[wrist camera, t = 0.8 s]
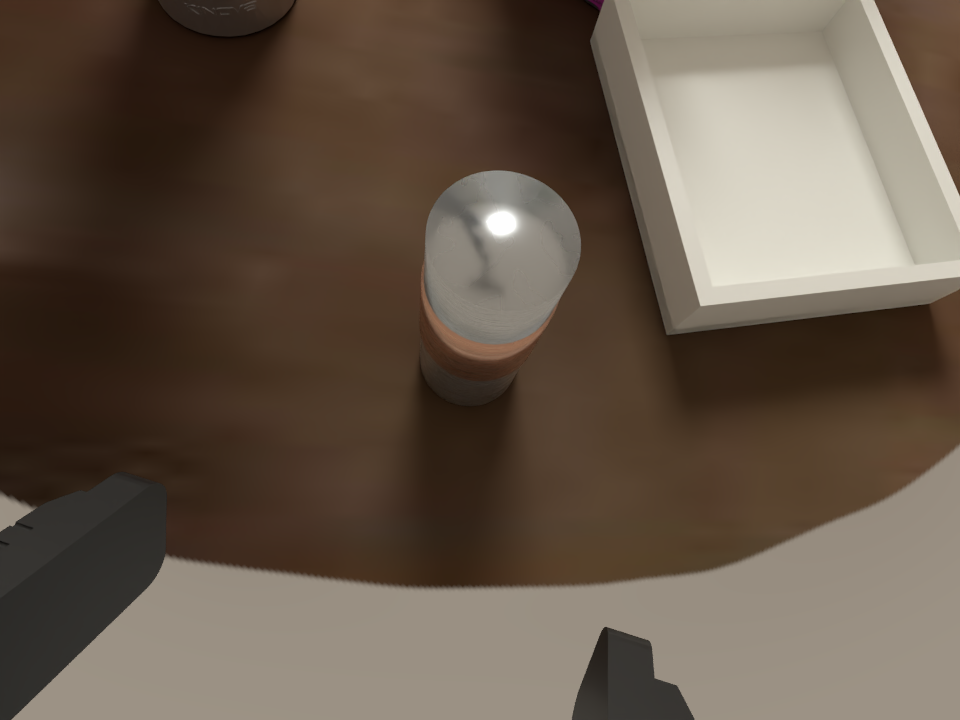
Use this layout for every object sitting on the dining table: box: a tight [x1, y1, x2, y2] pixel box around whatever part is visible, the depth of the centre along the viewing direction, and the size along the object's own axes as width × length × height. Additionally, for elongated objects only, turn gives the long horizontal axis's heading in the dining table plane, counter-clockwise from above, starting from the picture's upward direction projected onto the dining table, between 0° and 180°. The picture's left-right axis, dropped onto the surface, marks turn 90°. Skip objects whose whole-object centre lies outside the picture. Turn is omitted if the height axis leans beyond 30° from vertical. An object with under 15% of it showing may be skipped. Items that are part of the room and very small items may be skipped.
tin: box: [420, 171, 581, 406], centre depth 28 cm, size 6×6×14 cm
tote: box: [590, 0, 960, 335], centre depth 39 cm, size 22×18×4 cm
